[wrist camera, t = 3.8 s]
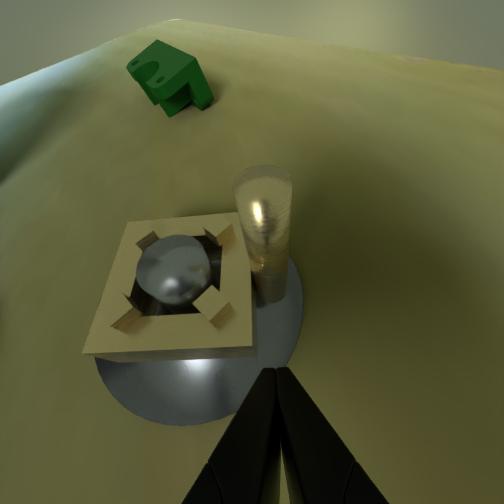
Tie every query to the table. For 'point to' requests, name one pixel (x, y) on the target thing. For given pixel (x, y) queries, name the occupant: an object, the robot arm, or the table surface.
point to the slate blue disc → (202, 370)
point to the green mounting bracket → (170, 78)
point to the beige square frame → (211, 301)
